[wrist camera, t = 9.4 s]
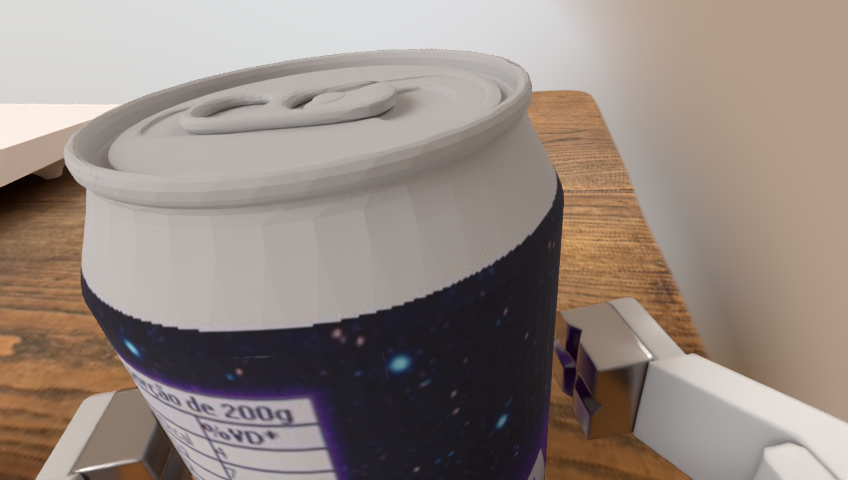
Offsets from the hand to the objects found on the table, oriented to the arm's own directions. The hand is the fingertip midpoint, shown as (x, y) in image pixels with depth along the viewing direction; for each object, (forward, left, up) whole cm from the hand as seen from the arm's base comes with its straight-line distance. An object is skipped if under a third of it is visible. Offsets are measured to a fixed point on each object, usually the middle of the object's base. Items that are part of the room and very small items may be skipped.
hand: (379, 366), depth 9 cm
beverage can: (0, +1, -7) cm, 7 cm away
